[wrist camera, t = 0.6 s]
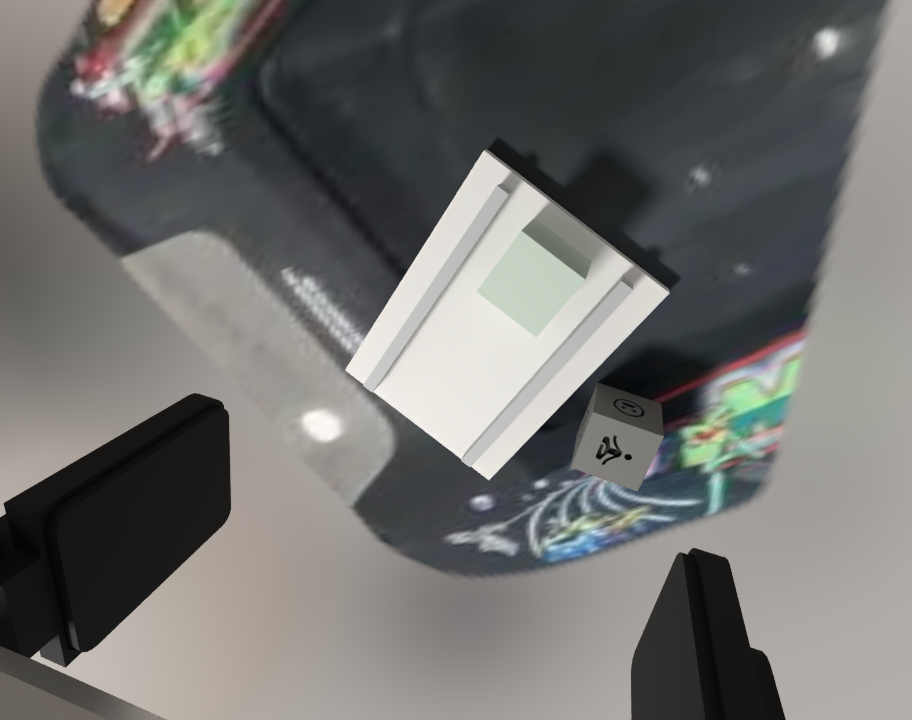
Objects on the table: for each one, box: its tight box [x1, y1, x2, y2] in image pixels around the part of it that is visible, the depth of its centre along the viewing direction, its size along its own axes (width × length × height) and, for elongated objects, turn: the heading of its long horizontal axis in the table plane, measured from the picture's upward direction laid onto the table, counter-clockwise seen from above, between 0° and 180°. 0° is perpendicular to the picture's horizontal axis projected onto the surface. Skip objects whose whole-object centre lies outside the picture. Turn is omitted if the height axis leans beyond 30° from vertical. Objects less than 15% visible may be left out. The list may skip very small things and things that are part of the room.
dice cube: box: [571, 382, 664, 491], centre depth 41 cm, size 5×5×5 cm
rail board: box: [345, 150, 670, 480], centre depth 40 cm, size 22×16×6 cm
